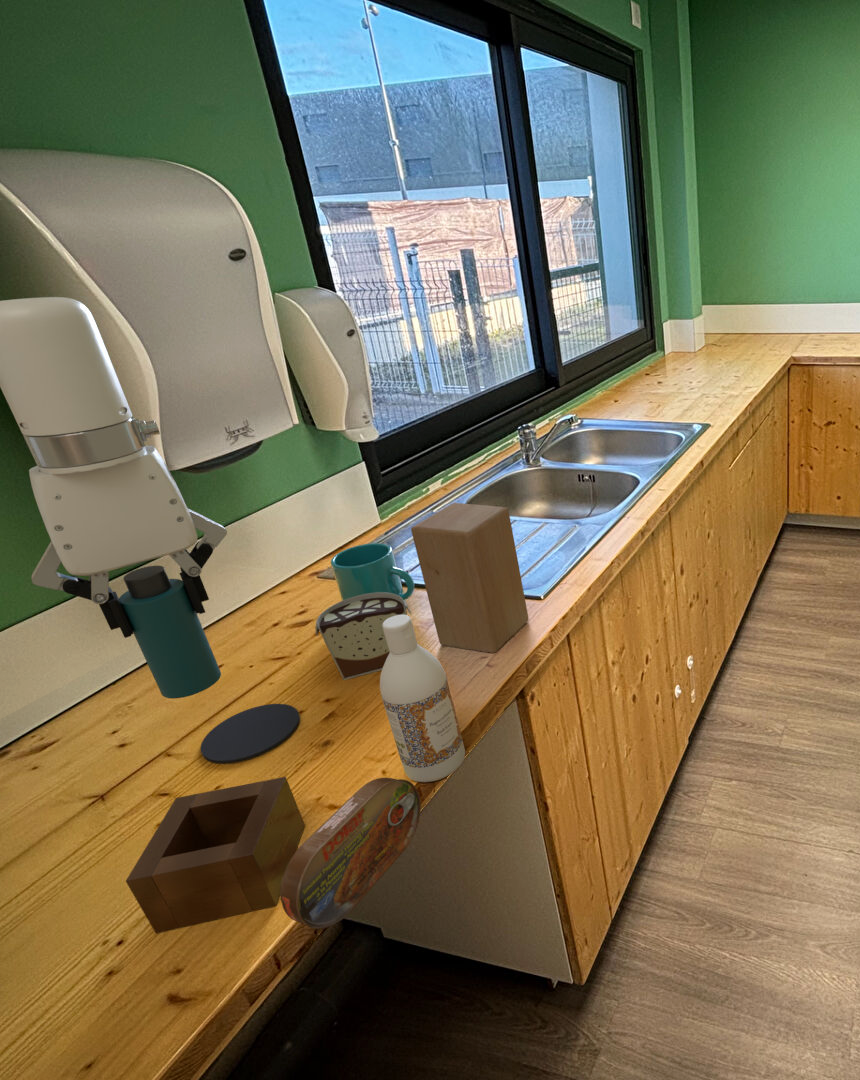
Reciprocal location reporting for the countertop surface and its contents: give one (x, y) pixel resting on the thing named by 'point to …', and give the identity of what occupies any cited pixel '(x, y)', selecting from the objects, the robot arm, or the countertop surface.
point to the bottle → (169, 632)
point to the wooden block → (471, 575)
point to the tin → (350, 852)
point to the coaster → (250, 733)
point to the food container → (359, 631)
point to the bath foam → (419, 705)
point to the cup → (369, 572)
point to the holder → (218, 855)
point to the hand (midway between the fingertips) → (163, 618)
